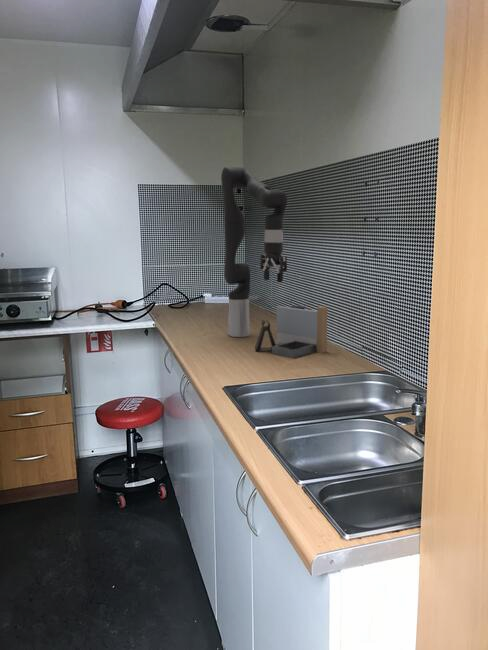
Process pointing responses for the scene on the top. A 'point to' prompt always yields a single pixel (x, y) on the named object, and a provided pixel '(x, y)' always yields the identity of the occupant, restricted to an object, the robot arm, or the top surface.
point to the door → (302, 326)
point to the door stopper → (260, 339)
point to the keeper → (298, 347)
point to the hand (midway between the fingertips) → (273, 281)
